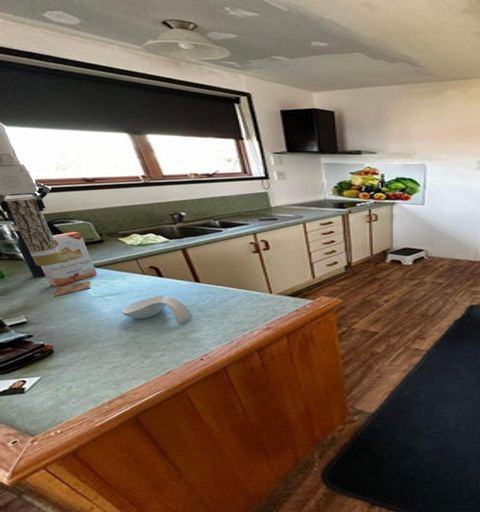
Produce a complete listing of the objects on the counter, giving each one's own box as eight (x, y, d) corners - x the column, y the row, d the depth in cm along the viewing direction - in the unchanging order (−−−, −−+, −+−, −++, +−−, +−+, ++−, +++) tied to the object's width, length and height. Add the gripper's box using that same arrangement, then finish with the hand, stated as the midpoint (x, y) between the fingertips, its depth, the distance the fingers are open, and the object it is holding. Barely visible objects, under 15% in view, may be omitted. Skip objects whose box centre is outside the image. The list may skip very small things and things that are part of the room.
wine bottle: (34, 278, 126) (2, 215, 116) (32, 275, 130) (0, 213, 120) (55, 273, 131) (25, 212, 121) (52, 271, 135) (23, 211, 125)
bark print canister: (41, 267, 101) (9, 199, 92) (33, 265, 103) (0, 199, 95) (67, 261, 107) (38, 197, 98) (58, 259, 109) (29, 196, 101)
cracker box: (57, 287, 116) (35, 240, 109) (49, 285, 118) (27, 239, 111) (98, 274, 129) (80, 232, 122) (90, 273, 131) (72, 231, 124)
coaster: (54, 296, 107) (53, 295, 107) (56, 289, 114) (56, 288, 114) (90, 288, 114) (89, 287, 114) (90, 281, 121) (90, 280, 121)
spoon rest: (116, 320, 89) (108, 301, 87) (154, 303, 99) (148, 285, 97) (169, 331, 82) (161, 310, 80) (203, 311, 93) (198, 292, 90)
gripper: (-47, 160, 84) (-17, 217, 90) (40, 159, 96) (61, 209, 101) (-38, 160, 89) (-11, 214, 95) (43, 160, 101) (63, 208, 107)
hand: (26, 211), depth 98 cm, fingers closed on bark print canister, 6 cm apart
